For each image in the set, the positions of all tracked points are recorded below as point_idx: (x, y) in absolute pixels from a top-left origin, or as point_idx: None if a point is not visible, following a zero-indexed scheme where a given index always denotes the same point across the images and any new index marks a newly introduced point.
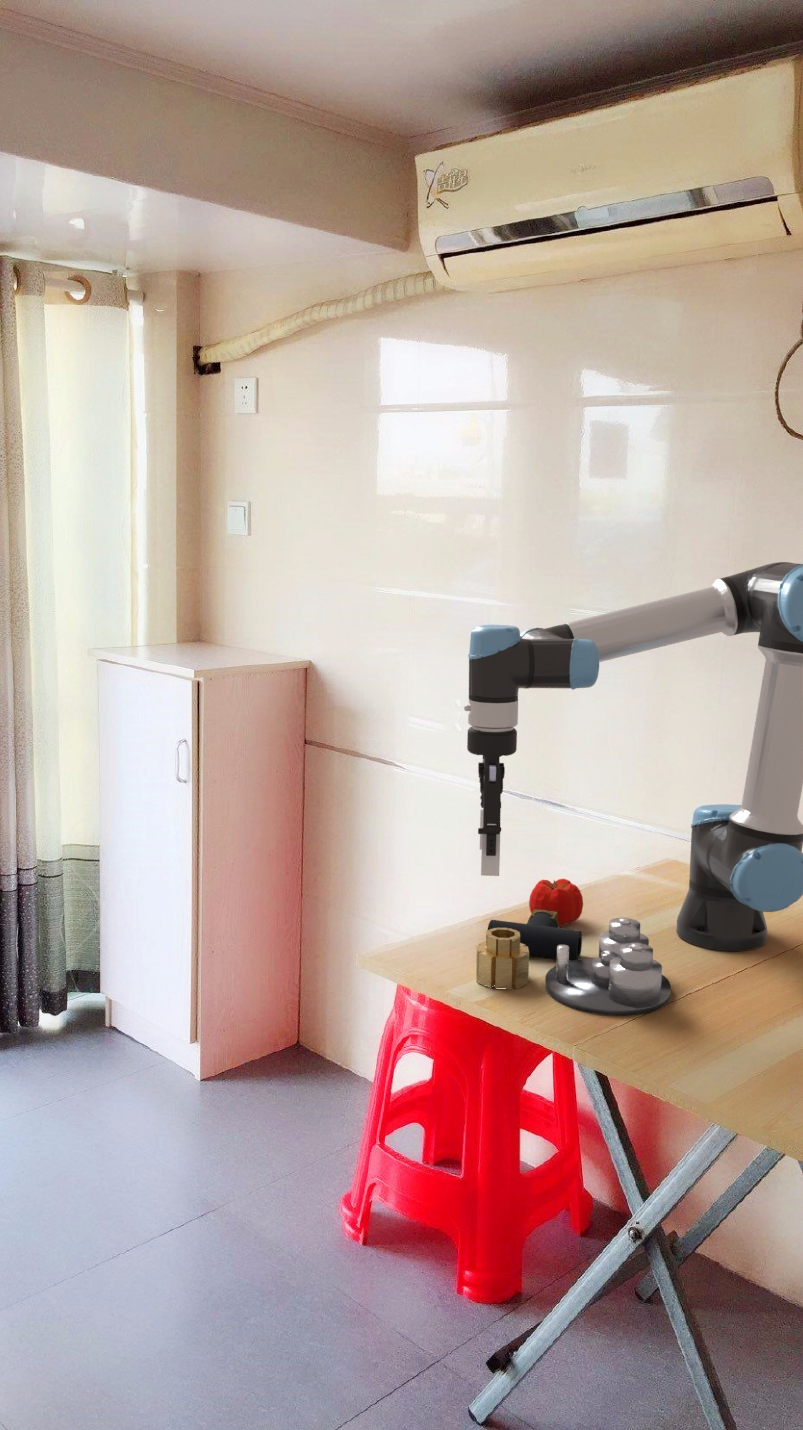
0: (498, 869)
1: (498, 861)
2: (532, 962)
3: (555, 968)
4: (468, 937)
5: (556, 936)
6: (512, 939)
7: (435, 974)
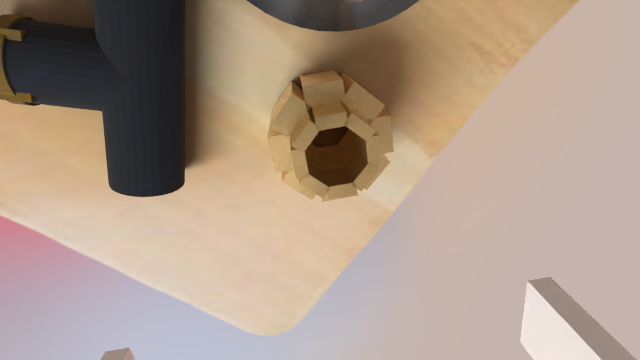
0: (572, 302)
1: (605, 336)
2: (213, 71)
3: (278, 9)
4: (119, 218)
5: (160, 13)
6: (374, 129)
7: (324, 239)
